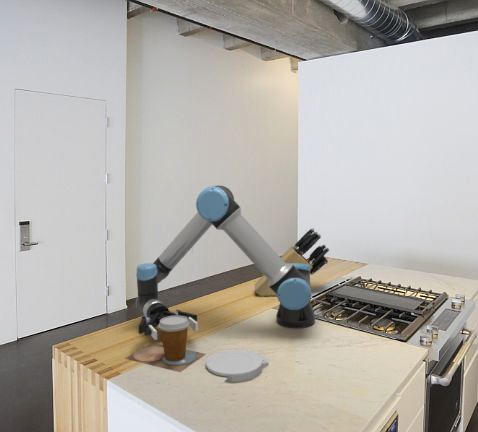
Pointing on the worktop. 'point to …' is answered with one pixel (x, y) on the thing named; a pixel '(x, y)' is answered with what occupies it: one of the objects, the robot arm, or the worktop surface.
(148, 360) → the terracotta disc
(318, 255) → the knife block
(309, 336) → the worktop surface
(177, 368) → the walnut board
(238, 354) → the lid
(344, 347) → the worktop surface
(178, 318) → the disposable coffee cup
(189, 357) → the slate disc
